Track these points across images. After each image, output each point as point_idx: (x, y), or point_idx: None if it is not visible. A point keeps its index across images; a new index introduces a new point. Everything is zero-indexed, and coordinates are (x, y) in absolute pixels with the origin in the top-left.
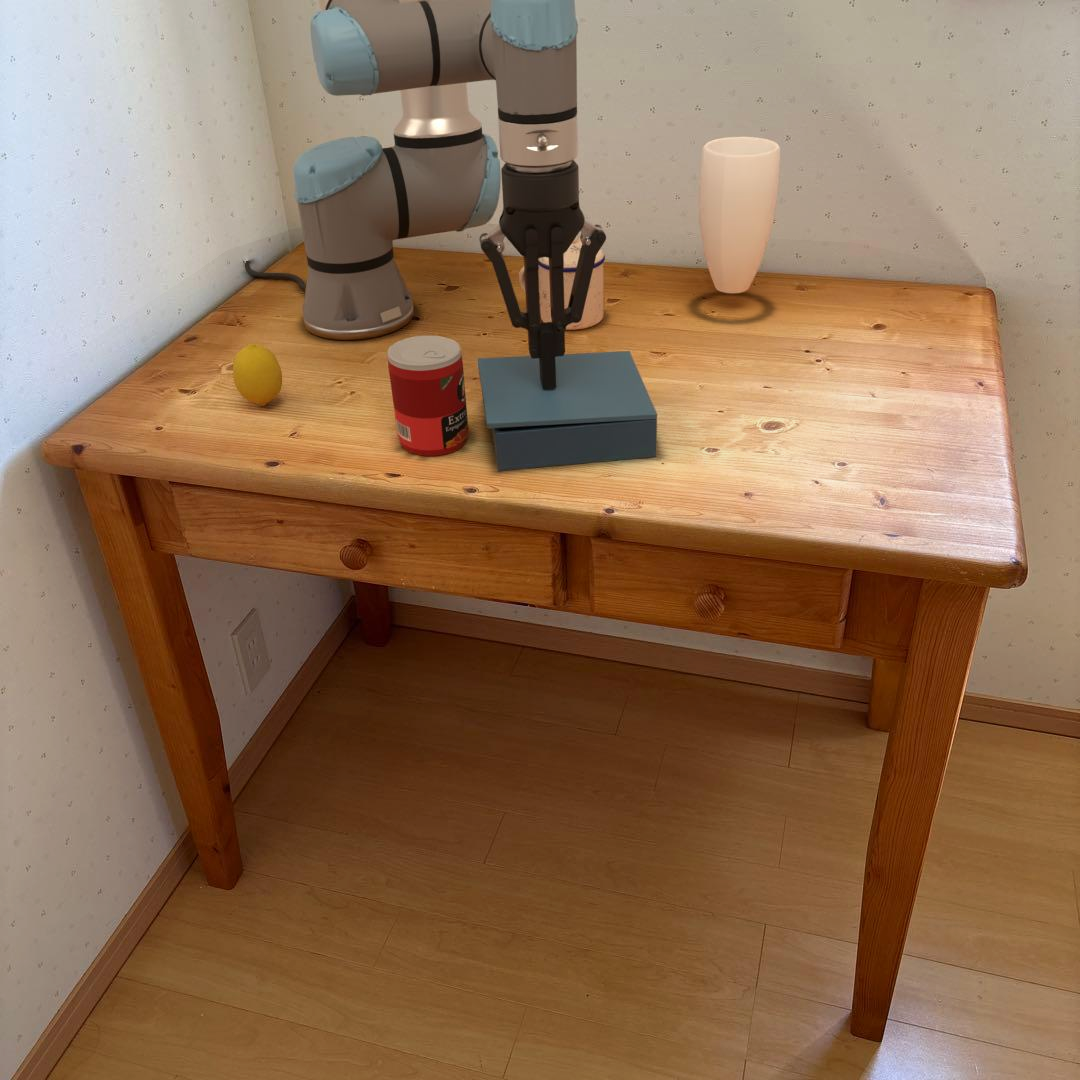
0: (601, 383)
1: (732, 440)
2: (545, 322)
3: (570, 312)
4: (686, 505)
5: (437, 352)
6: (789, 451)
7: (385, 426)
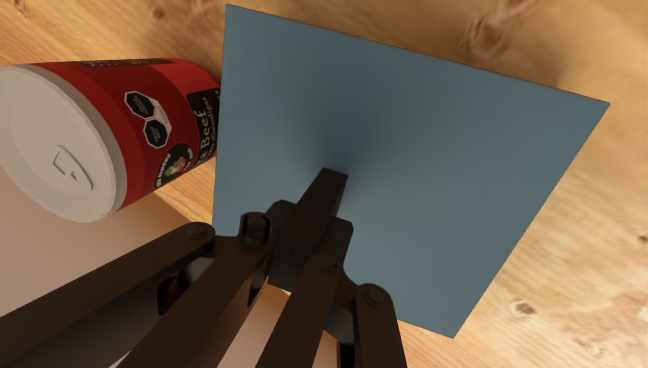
0: (429, 224)
1: (574, 307)
2: (298, 238)
3: (339, 342)
4: (414, 361)
5: (76, 168)
6: (619, 361)
7: (130, 32)
